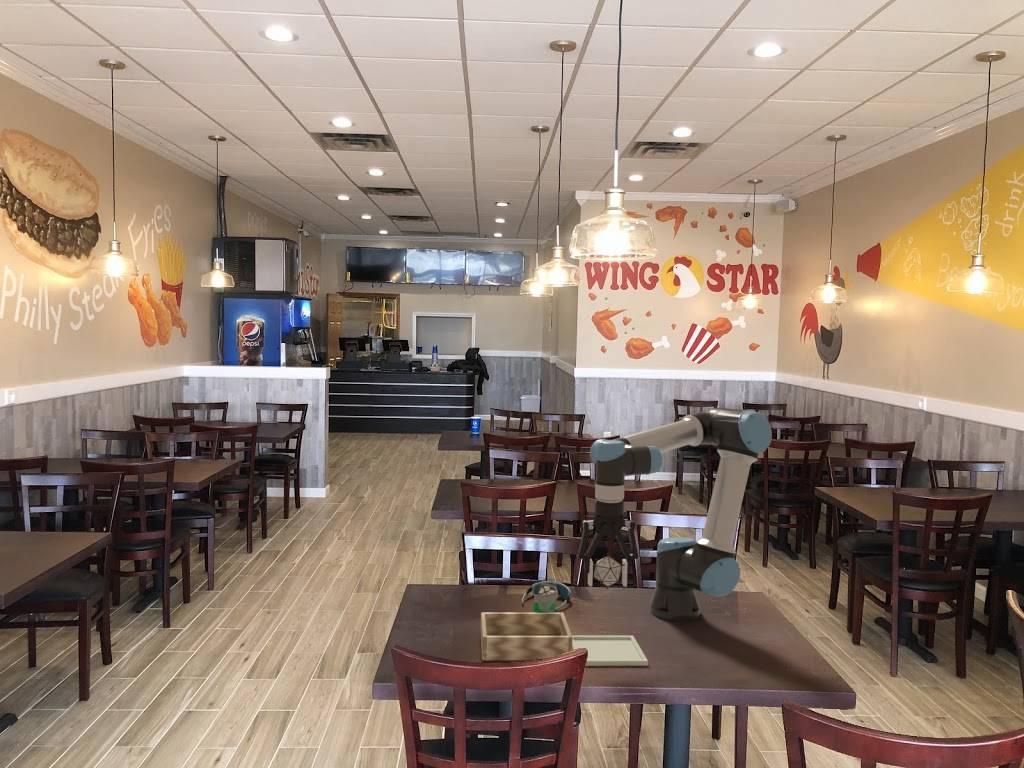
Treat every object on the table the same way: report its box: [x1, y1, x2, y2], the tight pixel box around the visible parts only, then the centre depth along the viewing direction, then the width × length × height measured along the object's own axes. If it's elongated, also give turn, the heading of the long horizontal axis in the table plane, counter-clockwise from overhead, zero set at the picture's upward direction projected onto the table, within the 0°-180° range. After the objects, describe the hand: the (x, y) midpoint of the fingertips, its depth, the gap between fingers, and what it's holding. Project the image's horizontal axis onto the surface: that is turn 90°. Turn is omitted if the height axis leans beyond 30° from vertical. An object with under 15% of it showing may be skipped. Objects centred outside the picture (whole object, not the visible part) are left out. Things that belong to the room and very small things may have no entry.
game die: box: [593, 552, 625, 590], centre depth 201 cm, size 9×8×10 cm
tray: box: [571, 634, 649, 667], centre depth 202 cm, size 18×17×1 cm
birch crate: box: [480, 611, 573, 661], centre depth 204 cm, size 23×18×6 cm
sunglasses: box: [521, 580, 572, 612], centre depth 238 cm, size 14×15×5 cm
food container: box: [533, 583, 559, 613], centre depth 221 cm, size 12×6×10 cm, turn 168°
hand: (607, 584), depth 201 cm, fingers closed on game die, 8 cm apart
